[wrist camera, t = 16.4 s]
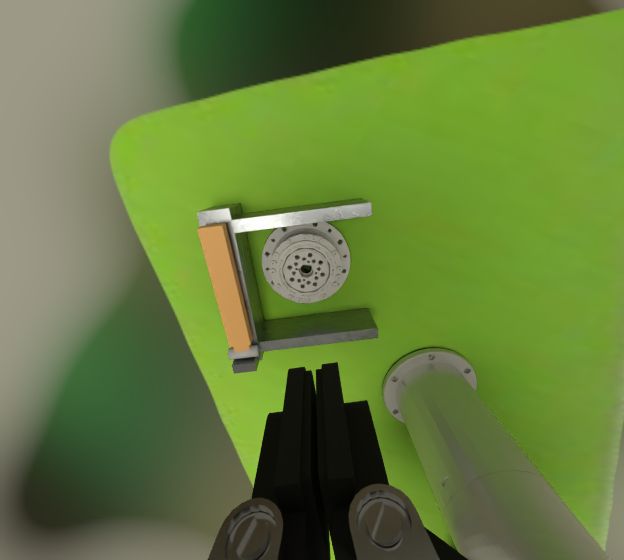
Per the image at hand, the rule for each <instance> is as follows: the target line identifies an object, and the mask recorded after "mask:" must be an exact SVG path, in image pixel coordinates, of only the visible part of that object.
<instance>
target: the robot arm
mask: <svg viewBox="0 0 624 560" xmlns="http://www.w3.org/2000/svg"><path fill="white" fill-rule="evenodd" d="M476 388H477V378H476V374H475V371H474V370H473V368H472V366H471V365H470V364H469V363H468V362H467V360H466V359H465V358H463V357H462V356H461V355H460V354H458V353H456V352H454V351H451V350H447V349H442V348H428V349H423V350H419V351H416V352H413V353H411V354H408V355H407V356H405V357H403V358H402V359H400V360H399V361H398V362H397V363H396V364H394V366H393V367H392V368H391V369H390V370H389V372H388V374H387V375H386V377H385V380H384V383H383V389H382V394H383V400H384V402H385V405H386V407H387V409H388V411H389V413H390V414H391V415H392V416H393V417H394V418H396V419H397V420H399V421H400V422H402V423H405V425H406V427H407V429H408V432H409V434H410V437H411V439H412V442H413V444H414V447H415V449H416V452H417V454H418V457H419V459H420V462H421V464H422V467H423V469H424V472H425V474H426V477H427V479H428V482H429V484H430V487H431V489H432V491H433V494H434V496H435V499H436V501H437V504H438V506H439V509H440V511H441V514H442V516H443V519H444V521H445V524H446V526H447V528H448V531H449V533H450V536H451V538H452V540H453V542H454V545H455V547H456V549H457V550H458V552H457V551H456V550H455V549H453V548H452V547H451V546H449V545H448V544H447V543H445V542H444V541H443V540H441V539H440V538H439V537H437V536H436V535H435V534H433V533H432V532H431V531H429V530H428V529H426V528H425V527H424V525H423V523H422V521H421V519H420V517H419V514H418V512H417V510H416V508H415V507H414V505H413V504H412V502H411V500H410V499H409V498H408V497H407V496H406V495H405V494H404V493H403V492H402V491H401V490H399V489H397V488H395V487H393V486H391V485H389V483H388V479H387V475H386V471H385V467H384V463H383V459H382V455H381V452H380V448H379V444H378V440H377V436H376V432H375V428H374V424H373V420H372V416H371V413H370V409H369V405H368V402H367V400H365V401H358V402H350V403H344V401H343V395H342V388H341V382H340V376H339V369H338V363H337V362H336V363H328V364H322V369H317V370H316V391H315V386H314V380H313V375H312V371H311V370H310V371H306V369H305V367H300V368H293V369H289V370H288V376H287V384H286V392H285V399H284V407H283V411H282V412H275V413H269V414H268V417H267V421H266V426H265V431H264V436H263V441H262V447H261V452H260V457H259V462H258V467H257V473H256V478H255V483H254V488H253V493H252V499H250V500H247V501H245V502H243V503H241V504H240V505H239V506H237V507H236V508H235V509H233V510H232V511H231V513H230V514H229V515H228V516H227V517H226V519H225V520H224V522H223V524H222V526H221V528H220V530H219V532H218V534H217V537H216V539H215V542H214V545H213V547H212V550H211V552H210V555H209V558H208V560H330V541H329V532H330V536H331V541H332V546H333V550H334V555H335V560H611V559H610V557H609V556H608V555H607V554H606V553H605V552H604V550H603V549H602V548H601V547H600V546H599V544H598V543H597V542H596V541H595V540H594V538H593V537H592V536H591V535H590V534H589V532H588V531H587V530H586V529H585V528H584V526H583V525H582V524H581V523H580V521H579V520H578V519H577V518H576V517H575V515H574V514H573V513H572V512H571V511H570V509H569V508H568V507H567V506H566V504H565V503H564V502H563V501H562V499H561V498H560V497H559V496H558V494H557V493H556V492H555V491H554V489H553V488H552V487H551V485H550V484H549V483H548V482H547V481H546V479H545V478H544V477H543V476H542V474H541V473H540V472H539V470H538V469H537V468H536V466H535V465H534V464H533V463H532V461H531V460H530V459H529V458H528V456H527V455H526V454H525V453H524V451H523V450H522V449H521V448H520V446H519V445H518V444H517V443H516V441H515V440H514V439H513V438H512V436H511V435H510V434H509V433H508V431H507V430H506V429H505V427H504V426H503V425H502V424H501V422H500V421H499V420H498V419H497V417H496V416H495V415H494V414H493V412H492V411H491V410H490V409H489V407H488V406H487V405H486V404H485V402H484V401H483V400H482V399H481V397H480V396H479V395H478V393H477V392H476Z"/></svg>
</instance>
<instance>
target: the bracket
mask: <svg viewBox="0 0 624 560" xmlns="http://www.w3.org/2000/svg"><path fill="white" fill-rule="evenodd" d="M197 216H198V220H199V224H200V227H201V226H205V225H213V224H221V223H226V227H227V231H228V236H229V240H230V244H231V248H232V253H233V257H234V261H235V265H236V270H237V274H238V278H239V282H240V287H241V291H242V295H243V299H244V304H245V308H246V312H247V316H248V321H249V325H250V329H251V333H252V338H253V339H252V342H251V345H258V347H259V356H256V357H248V358H240V359H234V362H233V364H232V367H233V371H234V373H242V372H250V371H257V367H258V363H259V360H262V357H263V353H264V351H271V350H279V349H288V348H296V347H305V346H313V345H321V344H330V343H338V342H347V341H355V340H364V339H372V338H378V328H377V326H376V324H375V322H374V320H373V318H372V315H371V313H370V311H369V309H368V308H364V309H356V310H347V311H339V312H331V313H322V314H314V315H306V316H297V317H289V318H281V319H273V320H264V317H263V312H262V307H261V302H260V297H259V293H258V288H257V283H256V278H255V273H254V268H253V263H252V258H251V253H250V248H249V243H248V238H247V233H246V231H254V230H262V229H270V228H278V227H286V226H294V225H302V224H309V223H317V222H325V221H333V220H341V219H349V218H357V217H365V216H372V206H371V202H369V201H367V200H364V199H362V198H360V199H352V200H344V201H336V202H329V203H321V204H313V205H305V206H297V207H290V208H282V209H274V210H266V211H258V212H251V213H242V208H241V203H238V204H230V205H223V206H215V207H211V208H208V209H205V210H202V211H199V212H197ZM231 348H233V347H231Z"/></svg>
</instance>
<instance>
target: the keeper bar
mask: <svg viewBox="0 0 624 560" xmlns="http://www.w3.org/2000/svg"><path fill="white" fill-rule="evenodd" d="M197 230H198V234H199V238H200V241H201V245H202V249H203V252H204V256H205V260H206V263H207V267H208V270H209V274H210V278H211V281H212V285H213V289H214V292H215V296H216V300H217V303H218V307H219V310H220V314H221V318H222V321H223V325H224V329H225V332H226V336H227V340H228V343H229V347H233V348H229V349H228V357H229V359H230V360H231V359H240V358H248V357H256V356H259V347H258V345H251V342H252V339H253V338H252V333H251V329H250V325H249V321H248V316H247V312H246V308H245V304H244V299H243V295H242V291H241V287H240V282H239V278H238V274H237V270H236V265H235V261H234V257H233V253H232V248H231V244H230V240H229V236H228V231H227V227H226V223H221V224H213V225H205V226H201V227H199V228H197Z"/></svg>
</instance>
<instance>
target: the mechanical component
mask: <svg viewBox="0 0 624 560" xmlns="http://www.w3.org/2000/svg"><path fill="white" fill-rule="evenodd" d="M286 228H287V229H286V230H284V229H283V228H282V227H278V228H276V229H275V230H274V231H273V232H272V233H271V234H270V236H269V238H268V239H267V241H266V243H265V245H264V249H263V253H262V268H263V271H264V275H265V278H266V280H267V281H268V283H269V284H270V285H271V287H272V288H273V290H274V291H276V292H277V293H278V294H280V295H281V296H282V297H284V298H286V299H289V300H292V301H294V302H298V303H307V304H308V303H313V302H318V301H321V300H324V299H326V298H328V297H330V296H331V295H333V294H334V293H336V292H337V291H338V289H339V288H340V287H341V286H342V285H343V283H344V282H345V280H346V278H347V275H348V273H349V269H350V262H351V261H350V252H349V248H348V246H347V243H346V241H345V239H344V238H343V236H342V235H341V233H340V232H339V231H338V230H337V229H336V228H335V227H334V226H333V225H331V224H330V223H328V222H326V221H325V222H317V225H313V223H309V224H302V225H294V226H286ZM329 229H331V230H330V231H328V230H329ZM274 238H275V240H273V239H274ZM338 240H342V241H341V242H339V243H338ZM266 251H267V252H268V253H270V254H267V253H266ZM310 253H312V254H310ZM345 254H346V255H345ZM296 255H299V256H296ZM344 255H345V256H344ZM286 257H287V258H286ZM303 257H305V258H303ZM313 259H314V260H313ZM319 260H321V261H319ZM327 261H328V262H329V263H328V262H327ZM303 264H304V265H309V266H303ZM311 266H312V270H311V272H310V273H307V274H306V273H305V271H304V270H302V271H301V268H302V269H303V268H306V269H309V268H310V267H311ZM267 267H268V268H267ZM299 268H300V269H299ZM343 269H345V270H343ZM342 270H343V271H342Z"/></svg>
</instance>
